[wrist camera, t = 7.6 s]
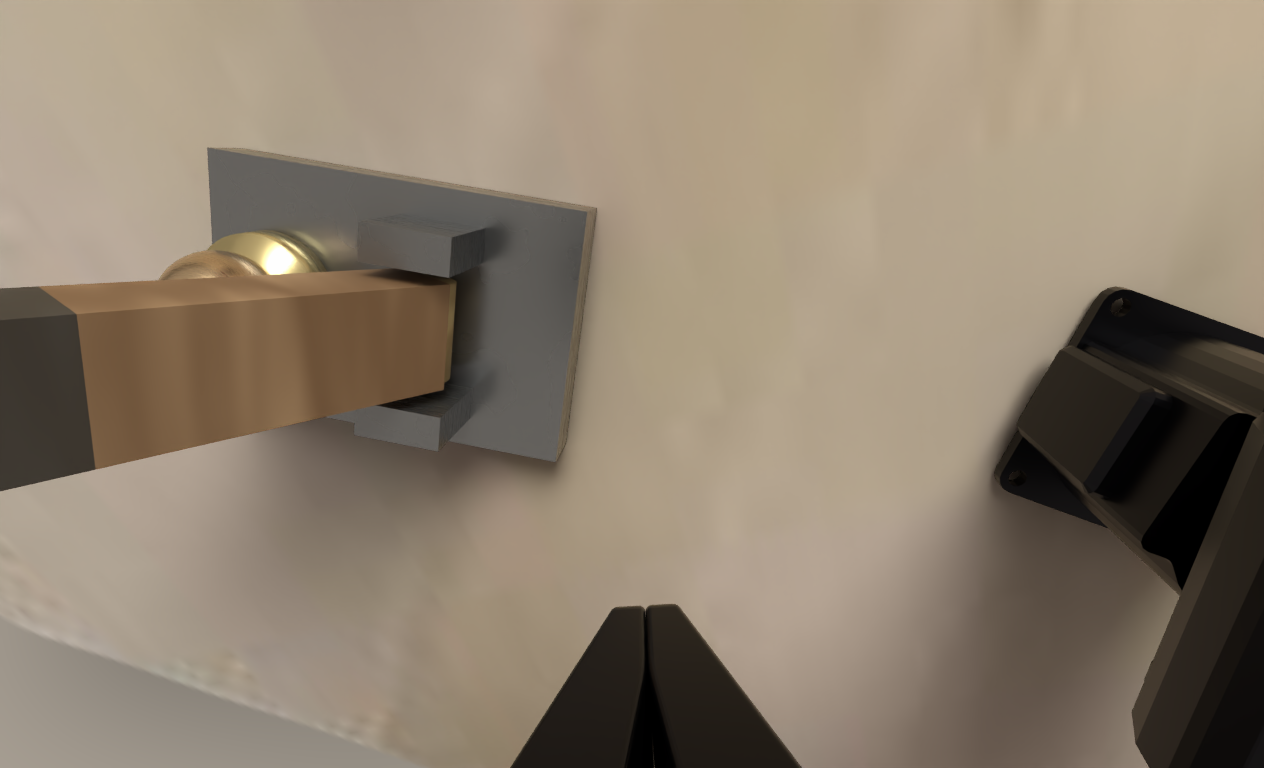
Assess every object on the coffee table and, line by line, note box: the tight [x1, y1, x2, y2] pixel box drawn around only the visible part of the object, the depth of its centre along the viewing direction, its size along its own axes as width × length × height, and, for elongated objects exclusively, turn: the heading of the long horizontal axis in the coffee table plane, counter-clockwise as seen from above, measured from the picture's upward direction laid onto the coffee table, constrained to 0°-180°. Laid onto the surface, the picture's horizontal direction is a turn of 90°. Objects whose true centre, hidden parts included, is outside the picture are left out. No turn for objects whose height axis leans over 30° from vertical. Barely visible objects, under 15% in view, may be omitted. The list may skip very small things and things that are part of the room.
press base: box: [159, 148, 597, 462], centre depth 19 cm, size 11×8×5 cm
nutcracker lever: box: [0, 268, 457, 491], centre depth 14 cm, size 2×3×14 cm, turn 171°
